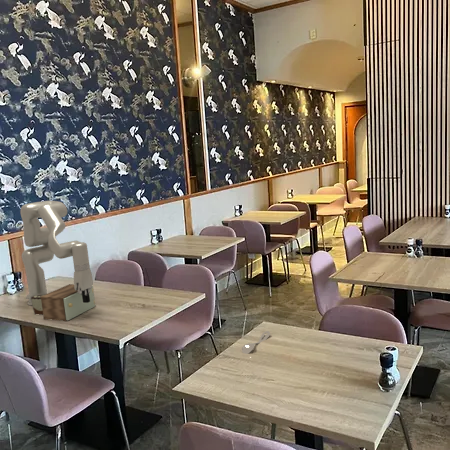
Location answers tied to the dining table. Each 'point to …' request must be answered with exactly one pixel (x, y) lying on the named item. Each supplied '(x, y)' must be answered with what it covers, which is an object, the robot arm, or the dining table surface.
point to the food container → (37, 303)
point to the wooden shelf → (56, 302)
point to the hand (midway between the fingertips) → (86, 302)
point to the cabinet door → (77, 304)
